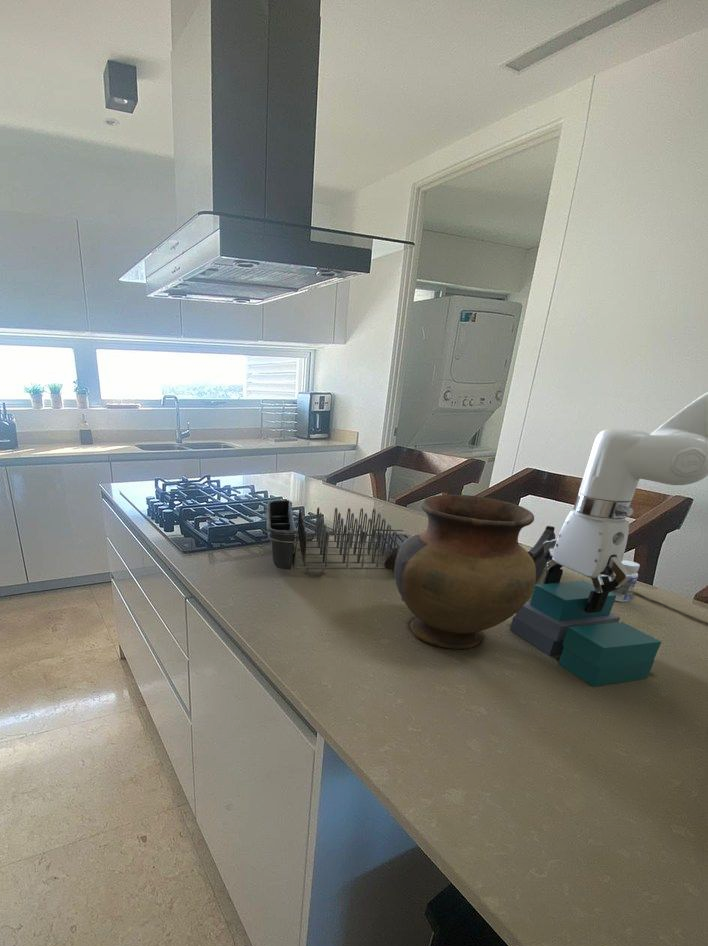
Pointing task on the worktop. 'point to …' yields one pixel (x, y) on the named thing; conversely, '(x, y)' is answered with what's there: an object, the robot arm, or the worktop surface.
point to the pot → (464, 569)
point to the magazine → (541, 550)
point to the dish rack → (326, 537)
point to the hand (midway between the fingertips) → (569, 600)
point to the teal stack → (608, 653)
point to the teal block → (567, 600)
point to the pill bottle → (627, 588)
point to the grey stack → (549, 628)
